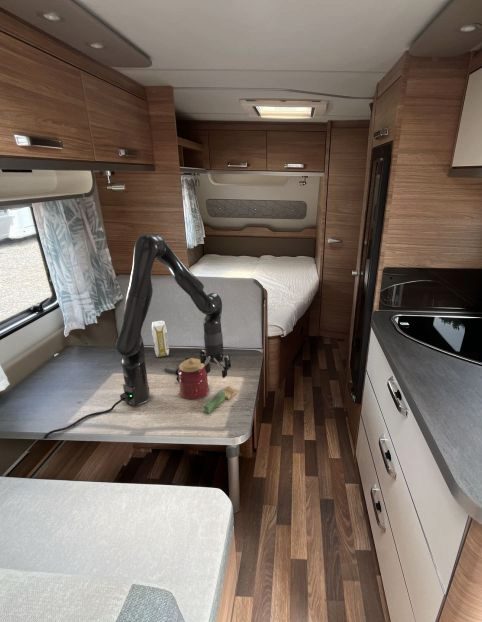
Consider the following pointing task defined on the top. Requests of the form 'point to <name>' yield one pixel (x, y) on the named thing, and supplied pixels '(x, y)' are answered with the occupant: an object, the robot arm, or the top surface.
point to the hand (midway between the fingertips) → (216, 374)
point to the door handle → (174, 370)
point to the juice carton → (160, 338)
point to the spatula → (219, 399)
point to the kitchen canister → (192, 379)
